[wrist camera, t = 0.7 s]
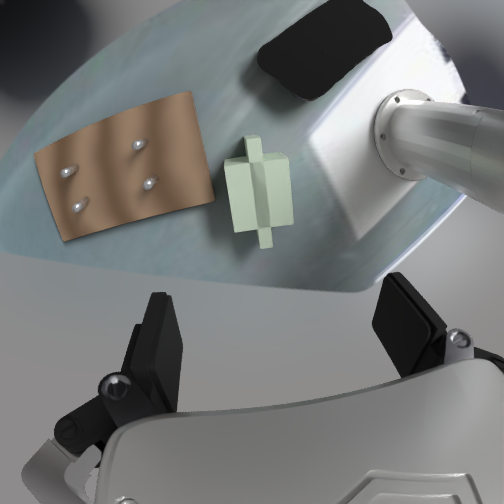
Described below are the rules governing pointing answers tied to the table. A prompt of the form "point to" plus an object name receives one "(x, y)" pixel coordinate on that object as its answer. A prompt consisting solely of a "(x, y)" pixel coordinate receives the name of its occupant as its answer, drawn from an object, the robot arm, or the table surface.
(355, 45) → the black sponge
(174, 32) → the table surface
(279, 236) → the table surface
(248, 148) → the green grooved block
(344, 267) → the table surface
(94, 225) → the pin plate
